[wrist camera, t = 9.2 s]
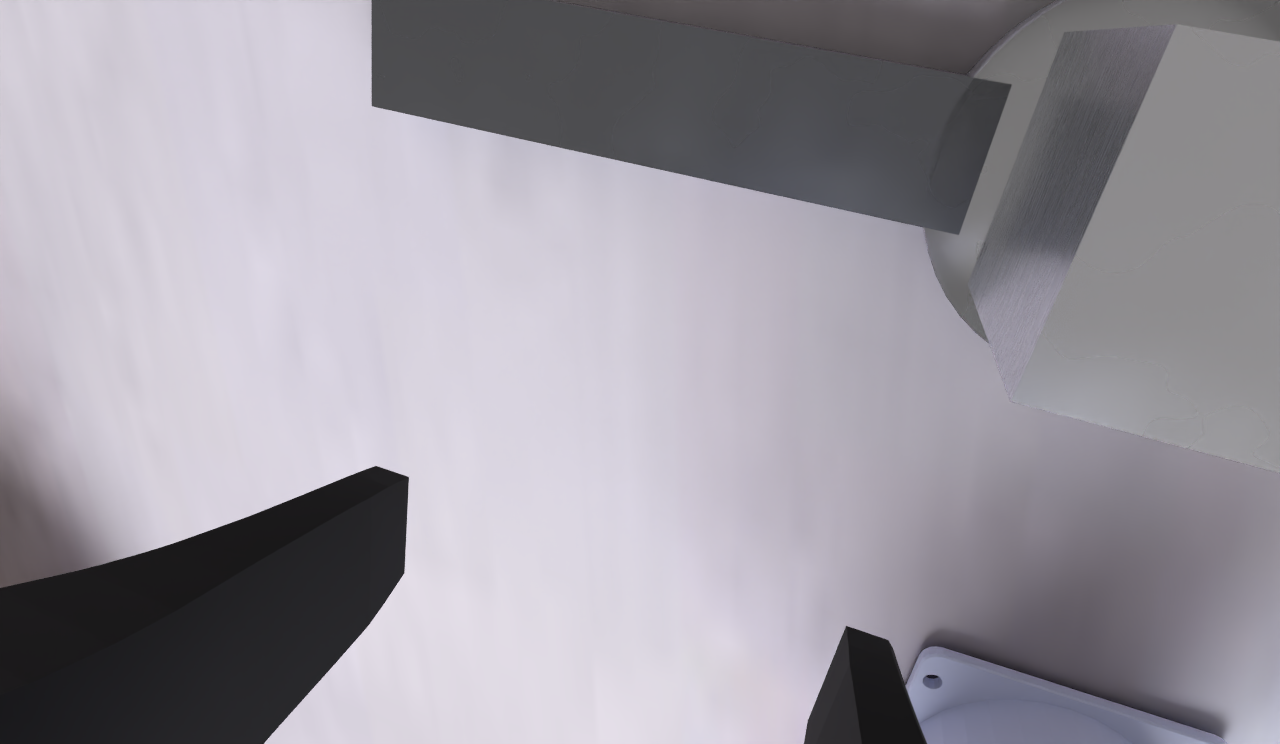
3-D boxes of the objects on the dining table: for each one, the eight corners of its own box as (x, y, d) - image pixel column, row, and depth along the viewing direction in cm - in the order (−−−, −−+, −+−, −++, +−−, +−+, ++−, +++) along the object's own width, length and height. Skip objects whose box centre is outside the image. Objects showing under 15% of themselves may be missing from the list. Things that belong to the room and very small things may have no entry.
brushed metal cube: (1221, 345, 15) (1404, 506, 10) (967, 284, 16) (1010, 401, 11) (1367, 86, 13) (1702, 113, 8) (1064, 31, 14) (1177, 24, 9)
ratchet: (1235, 397, 17) (1360, 523, 12) (403, 195, 21) (276, 237, 16) (1461, 6, 13) (1746, -12, 9) (410, -148, 17) (250, -212, 13)
